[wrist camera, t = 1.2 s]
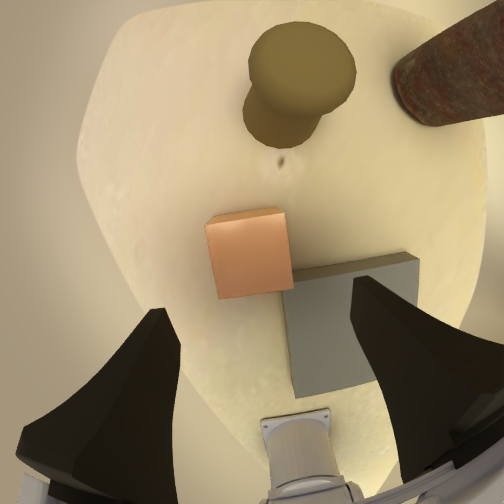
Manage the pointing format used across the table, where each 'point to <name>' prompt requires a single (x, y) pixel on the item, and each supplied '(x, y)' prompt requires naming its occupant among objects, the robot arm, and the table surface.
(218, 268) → the terracotta cube
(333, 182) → the table surface
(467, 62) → the candle
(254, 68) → the cork
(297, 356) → the grey square plate
